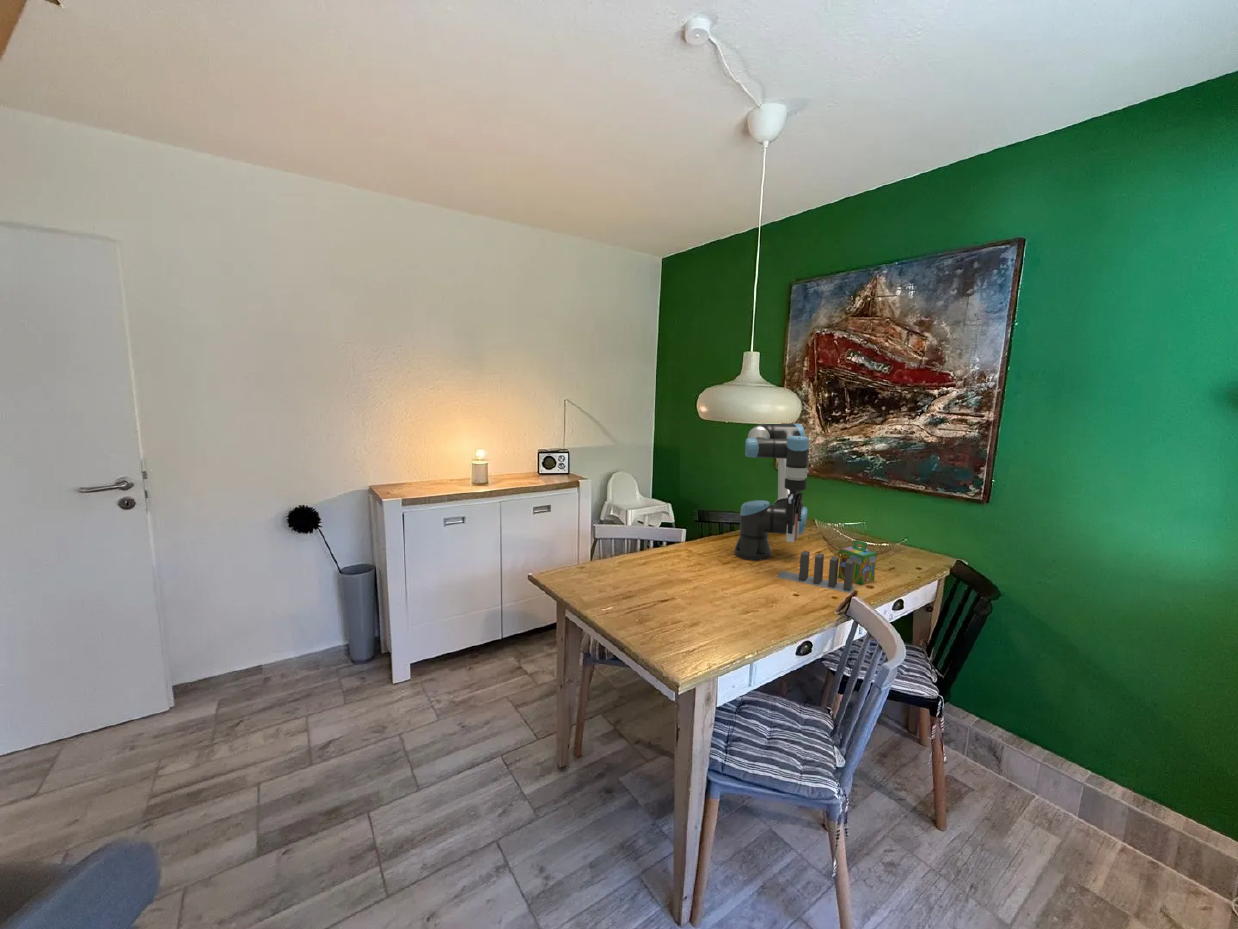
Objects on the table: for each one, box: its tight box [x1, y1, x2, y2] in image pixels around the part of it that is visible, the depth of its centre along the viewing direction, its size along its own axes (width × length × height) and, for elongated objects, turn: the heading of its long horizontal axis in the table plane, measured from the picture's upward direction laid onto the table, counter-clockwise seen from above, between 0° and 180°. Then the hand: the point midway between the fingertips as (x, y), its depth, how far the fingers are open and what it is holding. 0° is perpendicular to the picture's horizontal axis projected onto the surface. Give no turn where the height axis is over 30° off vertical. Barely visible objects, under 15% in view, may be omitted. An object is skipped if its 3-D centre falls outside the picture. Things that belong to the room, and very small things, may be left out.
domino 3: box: [813, 553, 825, 585], centre depth 172 cm, size 2×5×10 cm, turn 145°
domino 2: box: [798, 550, 811, 582], centre depth 174 cm, size 2×5×10 cm, turn 145°
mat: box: [775, 570, 856, 594], centre depth 173 cm, size 26×8×1 cm, turn 55°
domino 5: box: [843, 559, 854, 591], centre depth 166 cm, size 2×5×10 cm, turn 145°
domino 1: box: [794, 513, 798, 542], centre depth 175 cm, size 2×5×10 cm, turn 145°
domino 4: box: [828, 555, 840, 588], centre depth 169 cm, size 2×5×10 cm, turn 145°
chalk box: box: [837, 539, 878, 586], centre depth 174 cm, size 9×9×15 cm
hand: (792, 539), depth 176 cm, fingers closed on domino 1, 5 cm apart
